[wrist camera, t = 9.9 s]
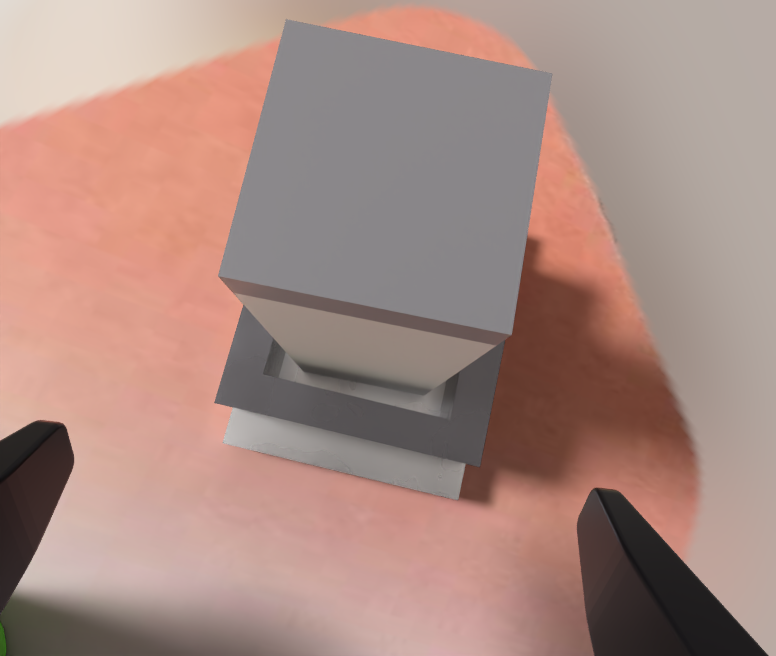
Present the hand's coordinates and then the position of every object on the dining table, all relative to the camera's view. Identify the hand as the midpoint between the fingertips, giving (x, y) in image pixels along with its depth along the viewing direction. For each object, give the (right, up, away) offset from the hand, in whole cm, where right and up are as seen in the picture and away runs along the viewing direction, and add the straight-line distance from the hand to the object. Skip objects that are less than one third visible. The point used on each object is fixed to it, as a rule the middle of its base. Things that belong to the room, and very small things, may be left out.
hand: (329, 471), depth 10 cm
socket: (0, +2, +13) cm, 13 cm away
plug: (0, +3, +12) cm, 12 cm away
